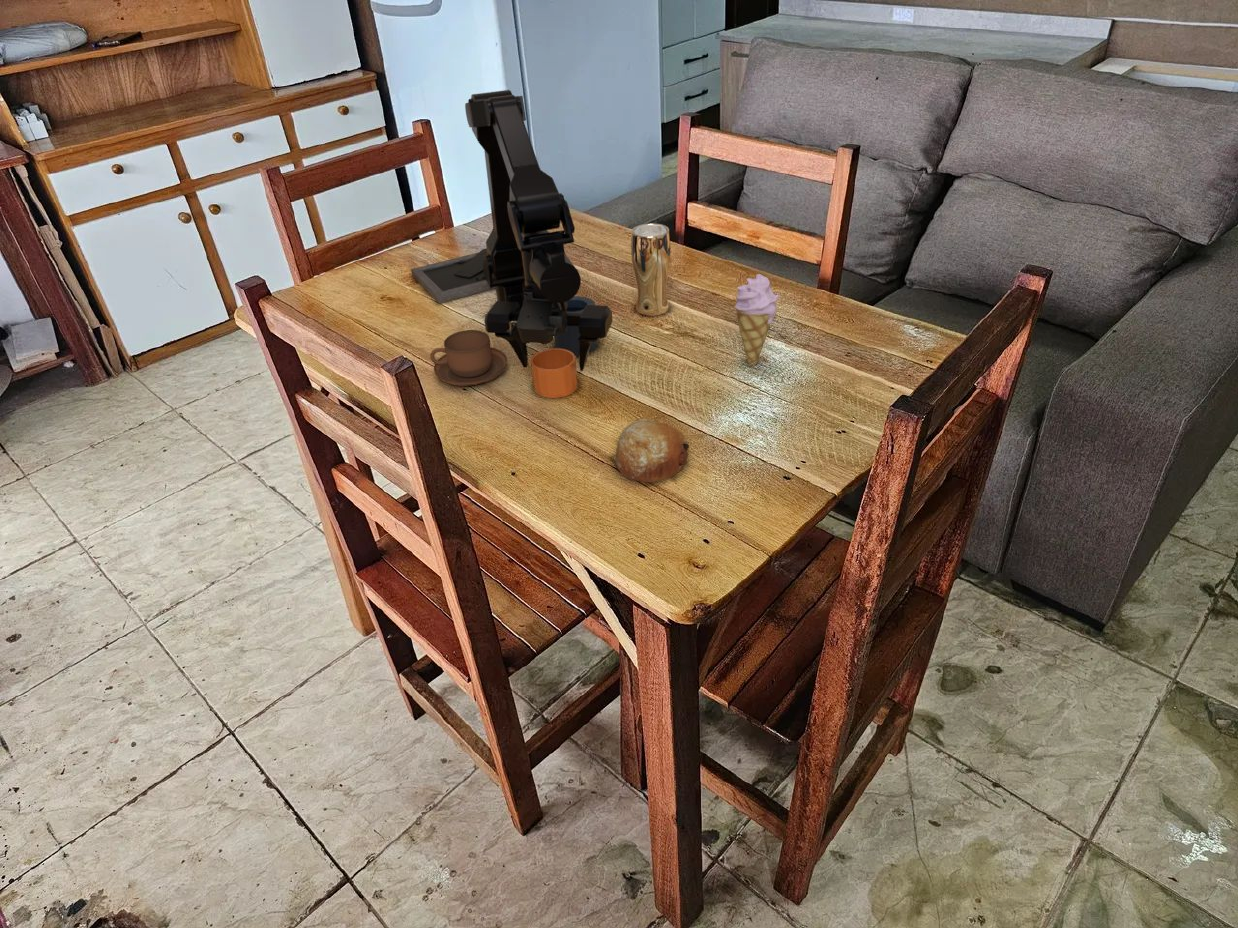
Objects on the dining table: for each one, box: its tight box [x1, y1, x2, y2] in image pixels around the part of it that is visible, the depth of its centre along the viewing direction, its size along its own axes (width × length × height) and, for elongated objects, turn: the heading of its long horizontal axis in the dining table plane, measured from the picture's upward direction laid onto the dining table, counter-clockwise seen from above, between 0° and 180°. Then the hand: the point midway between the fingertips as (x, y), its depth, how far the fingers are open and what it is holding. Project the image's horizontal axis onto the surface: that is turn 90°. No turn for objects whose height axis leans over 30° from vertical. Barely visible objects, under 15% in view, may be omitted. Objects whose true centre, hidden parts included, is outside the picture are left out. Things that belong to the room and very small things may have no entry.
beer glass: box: [630, 223, 671, 317], centre depth 149 cm, size 7×7×15 cm
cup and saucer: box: [429, 329, 508, 387], centre depth 135 cm, size 12×12×6 cm
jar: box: [553, 295, 599, 357], centre depth 141 cm, size 7×8×8 cm
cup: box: [530, 347, 579, 399], centre depth 131 cm, size 7×7×5 cm
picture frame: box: [410, 248, 496, 304], centre depth 169 cm, size 16×2×21 cm
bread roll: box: [613, 417, 690, 483], centre depth 114 cm, size 10×10×8 cm
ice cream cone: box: [734, 273, 782, 366], centre depth 131 cm, size 7×6×15 cm
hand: (553, 368), depth 131 cm, fingers open, 9 cm apart
